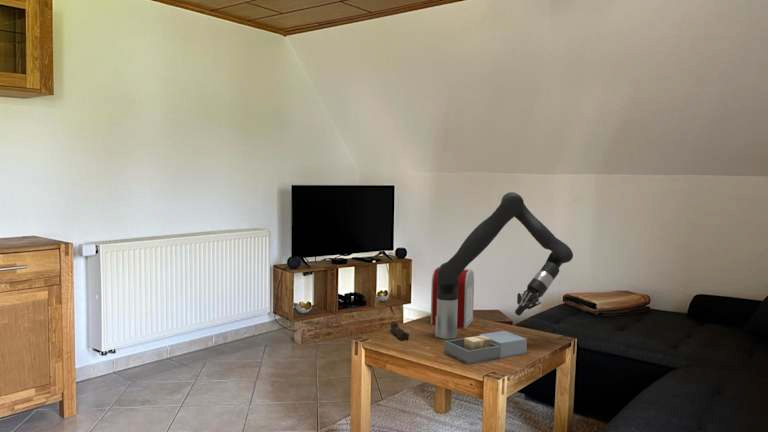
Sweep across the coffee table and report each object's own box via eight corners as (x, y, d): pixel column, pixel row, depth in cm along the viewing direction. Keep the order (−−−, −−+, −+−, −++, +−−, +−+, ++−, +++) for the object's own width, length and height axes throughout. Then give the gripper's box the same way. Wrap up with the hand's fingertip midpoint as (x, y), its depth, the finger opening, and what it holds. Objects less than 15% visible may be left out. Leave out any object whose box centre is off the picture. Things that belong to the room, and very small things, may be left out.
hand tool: (409, 341, 263) (409, 331, 263) (400, 341, 262) (400, 331, 262) (397, 330, 281) (397, 320, 281) (389, 330, 280) (389, 320, 280)
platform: (504, 344, 260) (504, 330, 259) (526, 353, 248) (526, 338, 247) (478, 348, 253) (478, 334, 253) (499, 357, 241) (500, 343, 240)
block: (481, 335, 248) (464, 338, 243) (491, 339, 242) (473, 341, 238) (481, 349, 248) (463, 352, 244) (490, 353, 243) (473, 356, 239)
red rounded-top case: (439, 316, 307) (440, 264, 305) (473, 320, 301) (474, 267, 299) (430, 324, 292) (431, 269, 290) (465, 328, 286) (467, 272, 284)
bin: (475, 348, 254) (476, 336, 253) (500, 358, 240) (500, 346, 239) (444, 353, 246) (444, 341, 246) (467, 364, 232) (468, 351, 232)
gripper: (525, 275, 262) (502, 305, 257) (547, 280, 250) (523, 312, 246) (534, 286, 265) (511, 316, 260) (555, 292, 253) (532, 323, 249)
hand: (517, 314), depth 253 cm, fingers closed
